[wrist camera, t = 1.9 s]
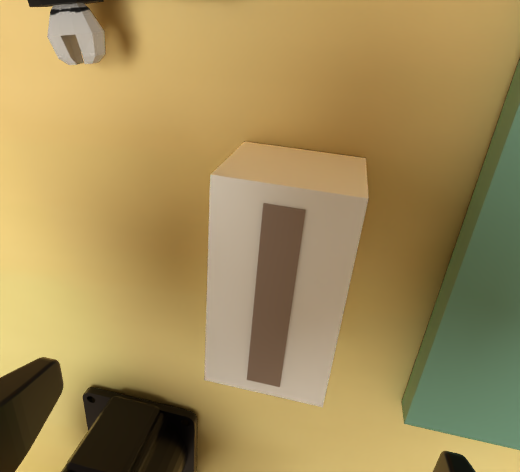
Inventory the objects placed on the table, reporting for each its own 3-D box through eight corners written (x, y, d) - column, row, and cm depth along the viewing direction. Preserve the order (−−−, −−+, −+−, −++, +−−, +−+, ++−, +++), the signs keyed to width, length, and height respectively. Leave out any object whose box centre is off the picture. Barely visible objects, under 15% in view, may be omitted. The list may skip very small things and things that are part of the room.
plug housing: (329, 334, 18) (322, 409, 14) (233, 314, 19) (203, 382, 15) (366, 157, 14) (368, 199, 11) (244, 141, 15) (208, 175, 11)
